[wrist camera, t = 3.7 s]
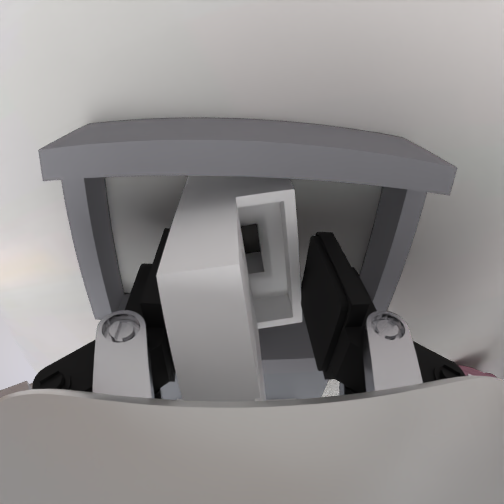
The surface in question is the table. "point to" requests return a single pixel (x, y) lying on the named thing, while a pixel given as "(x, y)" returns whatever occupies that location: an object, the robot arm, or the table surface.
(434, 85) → the table surface
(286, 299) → the white angled block
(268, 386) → the port block
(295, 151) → the gray rectangular frame
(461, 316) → the table surface
